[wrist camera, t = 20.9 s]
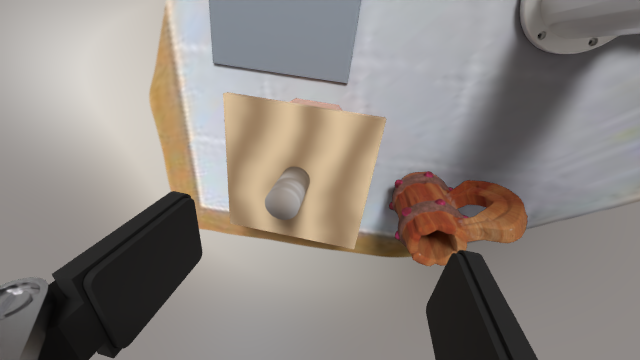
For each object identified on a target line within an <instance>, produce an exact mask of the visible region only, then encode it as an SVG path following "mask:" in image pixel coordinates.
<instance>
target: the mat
mask: <svg viewBox="0 0 640 360" xmlns="http://www.w3.org/2000/svg"><path fill="white" fill-rule="evenodd" d="M360 5H361V0H209V10H210V24H211V39H212V54H213V63H216V64H223V65H229V66H236V67H243V68H249V69H256V70H263V71H269V72H276V73H283V74H289V75H296V76H303V77H309V78H316V79H323V80H329V81H336V82H343V83H348V77H349V71H350V65H351V59H352V53H353V47H354V41H355V35H356V29H357V23H358V17H359V11H360Z"/></svg>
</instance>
